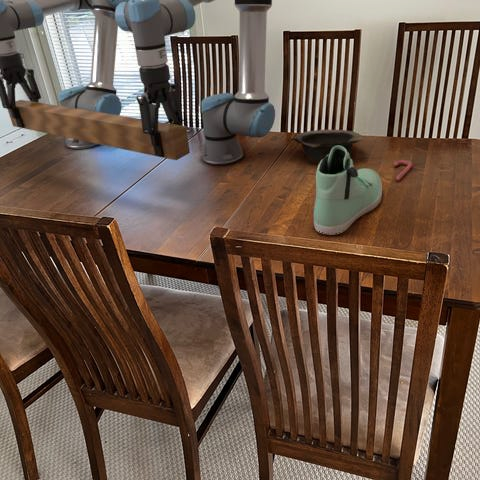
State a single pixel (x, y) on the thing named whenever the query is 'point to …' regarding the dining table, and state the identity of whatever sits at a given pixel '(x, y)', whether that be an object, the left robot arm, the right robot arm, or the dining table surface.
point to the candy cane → (404, 169)
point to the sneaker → (343, 192)
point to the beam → (101, 128)
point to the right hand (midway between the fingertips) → (167, 151)
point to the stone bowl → (325, 142)
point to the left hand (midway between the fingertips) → (29, 124)
